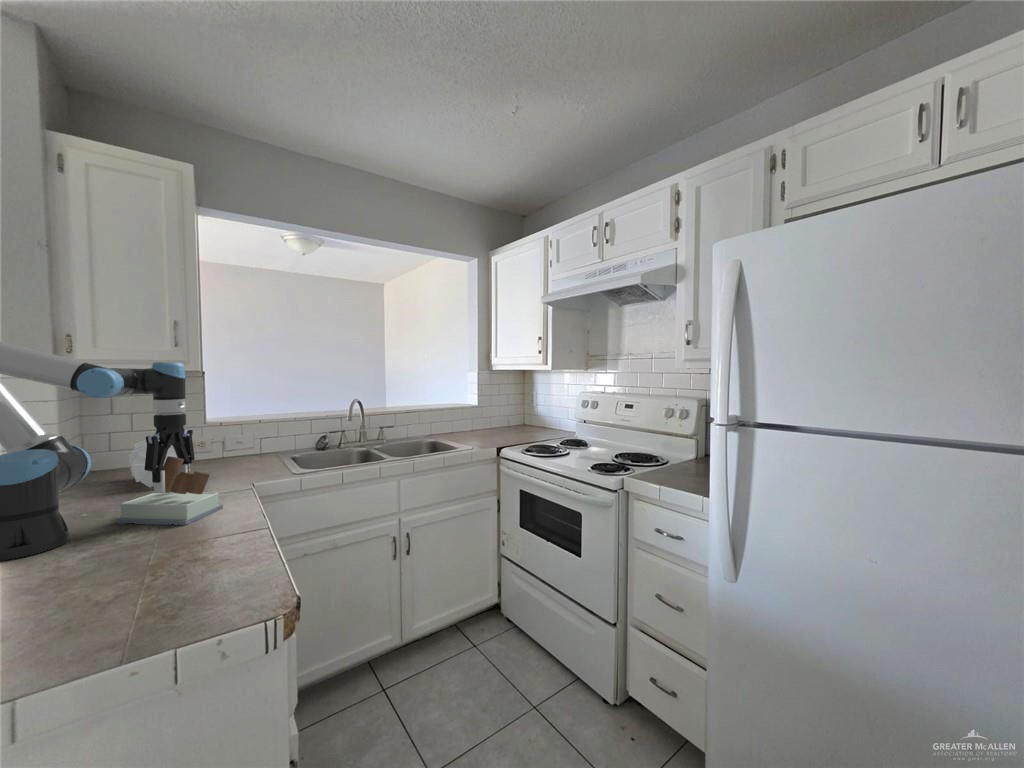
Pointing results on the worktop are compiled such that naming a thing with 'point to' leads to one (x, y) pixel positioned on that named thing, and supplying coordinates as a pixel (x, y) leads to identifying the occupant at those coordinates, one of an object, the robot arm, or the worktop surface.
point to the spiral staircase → (139, 463)
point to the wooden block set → (182, 478)
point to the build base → (169, 508)
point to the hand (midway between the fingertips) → (171, 488)
